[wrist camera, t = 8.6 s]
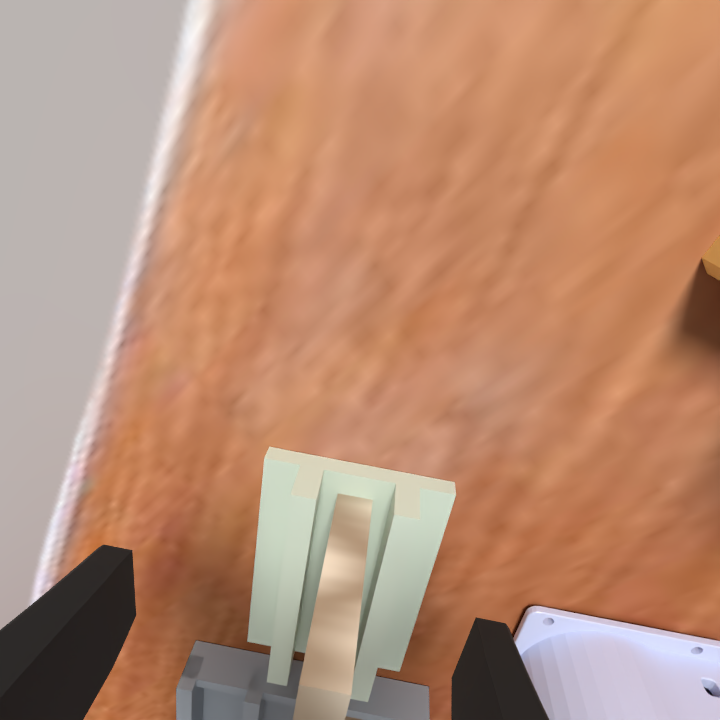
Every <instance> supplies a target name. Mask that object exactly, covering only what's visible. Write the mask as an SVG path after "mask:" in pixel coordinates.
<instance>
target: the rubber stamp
mask: <svg viewBox="0 0 720 720" xmlns="http://www.w3.org/2000/svg"><path fill="white" fill-rule="evenodd" d="M702 261H703V264H704V266H705V269H706V272H707V274H709V275H711V276H712V277H714V278H716V279H717V280H719V281H720V235H719V236H718V238H717V239H716V240H715V241H714V243H713V244H712V245H711V247H710V248H709V249H708V250H707V252H706V253H705V254H704V255H703V257H702Z"/></svg>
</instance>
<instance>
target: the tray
mask: <svg viewBox="0 0 720 720" xmlns="http://www.w3.org/2000/svg"><path fill="white" fill-rule="evenodd" d="M269 660H270V655H267V654H262V653H257V652H252V651H247V650H242V649H237V648H232V647H227V646H222V645H217V644H212V643H207V642H202V641H197V640H196V642H195V644H194V646H193V649H192V651H191V654H190V656H189V659H188V661H187V663H186V666H185V668H184V671H183V673H182V676H181V678H180V680H179V683H178V685H177V688H176V720H293V715H294V710H295V704H296V698H297V693H298V687H299V682H300V677H301V672H302V667H303V662H302V661H297V660H293V661H292V665H291V670H290V674H289V679H288V683H287V686H284V685H279V684H274V683H269V682H267V676H268V668H269ZM346 716H347V717H352V718H357V719H362V720H430V718H429V687H428V686H423V685H418V684H413V683H408V682H403V681H398V680H393V679H388V678H383V677H378V676H375V679H374V683H373V686H372V690H371V693H370V697H369V700H368V702H364V701H359V700H354V699H350V702H349V706H348V710H347V714H346Z"/></svg>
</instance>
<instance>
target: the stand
mask: <svg viewBox="0 0 720 720" xmlns="http://www.w3.org/2000/svg"><path fill="white" fill-rule="evenodd" d="M338 493H339V494H345V495H350V496H355V497H360V498H365V499H370V500H373V503H372V512H371V521H370V530H369V539H368V548H367V557H366V566H365V575H364V584H363V593H362V602H361V612H360V621H359V630H358V639H357V648H356V657H355V666H354V675H353V684H352V693H351V698H350V699H354V700H359V701H364V702H368V700H369V697H370V693H371V690H372V686H373V683H374V679H375V676H376V672H377V669H378V668H383V669H388V670H393V671H398V672H400V668H401V665H402V662H403V659H404V656H405V653H406V650H407V647H408V643H409V640H410V637H411V634H412V631H413V628H414V625H415V622H416V618H417V615H418V612H419V609H420V606H421V603H422V600H423V597H424V593H425V590H426V587H427V584H428V581H429V578H430V575H431V572H432V568H433V565H434V562H435V559H436V556H437V553H438V550H439V547H440V543H441V540H442V537H443V534H444V531H445V528H446V525H447V522H448V518H449V515H450V512H451V509H452V506H453V503H454V500H455V497H456V490H455V482H451V481H446V480H441V479H435V478H430V477H425V476H420V475H415V474H409V473H404V472H399V471H394V470H388V469H383V468H378V467H373V466H368V465H362V464H357V463H352V462H347V461H342V460H336V459H331V458H326V457H321V456H315V455H310V454H305V453H300V452H295V451H289V450H284V449H279V448H274V447H269V449H268V451H267V453H266V456H265V458H264V468H263V479H262V490H261V500H260V511H259V522H258V533H257V543H256V554H255V565H254V575H253V586H252V597H251V607H250V618H249V629H248V639H247V642H252V643H257V644H262V645H267V646H271V652H270V660H269V668H268V676H267V682H269V683H274V684H279V685H284V686H287V683H288V679H289V674H290V670H291V665H292V661H293V656H294V652H295V651H297V652H302V653H305V652H306V647H307V642H308V637H309V632H310V628H311V623H312V618H313V613H314V608H315V603H316V598H317V593H318V588H319V583H320V578H321V573H322V568H323V563H324V558H325V553H326V549H327V544H328V539H329V534H330V529H331V524H332V519H333V514H334V509H335V504H336V499H337V494H338Z"/></svg>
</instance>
